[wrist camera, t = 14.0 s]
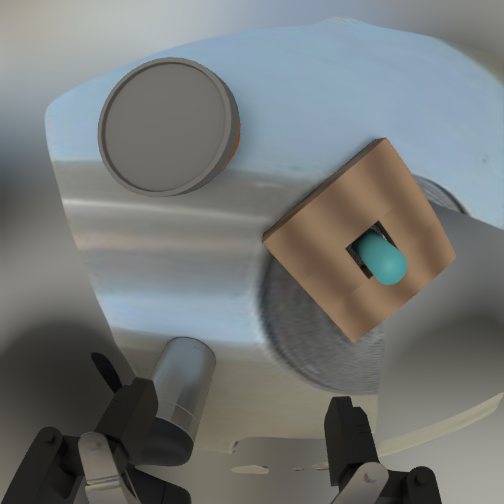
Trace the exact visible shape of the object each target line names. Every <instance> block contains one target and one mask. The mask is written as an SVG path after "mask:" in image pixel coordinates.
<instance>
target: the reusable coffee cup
mask: <svg viewBox="0 0 504 504" xmlns="http://www.w3.org/2000/svg"><path fill="white" fill-rule="evenodd" d="M239 138H240V119H239V112H238V107H237V104H236V101H235V99H234V96H233V94H232V92H231V91H230V89H229V88H228V86H227V85H226V84H225V82H223V81H222V80H221V79H220V78H219V77H218V76H217V75H216V74H214V73H213V72H212V71H210V70H209V69H208V68H206V67H204V66H202V65H201V64H199V63H197V62H195V61H191V60H188V59H184V58H174V57H168V58H161V59H155V60H152V61H149V62H147V63H144V64H142V65H140V66H138V67H137V68H135V69H133V70H132V71H130V72H129V73H128V74H127V75H125V76H124V77H123V78H122V79H121V80H120V81H119V82H118V83H117V85H116V86H115V87H114V88H113V89H112V91H111V93H110V94H109V96H108V97H107V99H106V101H105V103H104V106H103V108H102V111H101V114H100V119H99V124H98V145H99V151H100V154H101V157H102V160H103V163H104V165H105V166H106V168H107V170H108V172H109V173H110V174H111V175H112V177H113V178H114V179H115V180H116V181H117V182H118V183H119V184H121V185H122V186H123V187H125V188H126V189H128V190H130V191H132V192H134V193H136V194H140V195H144V196H149V197H166V196H176V195H181V194H186V193H189V192H191V191H194V190H196V189H199V188H200V187H202V186H204V185H205V184H207V183H208V182H210V181H211V180H212V179H213V178H214V177H215V176H217V175H218V174H219V173H220V172H221V171H222V170H223V169H224V168H225V167H226V165H227V164H228V163H229V161H230V160H231V158H232V157H233V155H234V153H235V151H236V149H237V146H238V142H239Z"/></svg>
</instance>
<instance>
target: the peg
mask: <svg viewBox="0 0 504 504" xmlns="http://www.w3.org/2000/svg"><path fill="white" fill-rule="evenodd" d="M351 245H352V248H353V250H354V251H355V252H356V253H357V255H358V256H359V257H360V258H361V260H362V261H363V262H364V263H365V265H366V266H367V267H368V268H369V270H370V271H371V272H372V274H373V275H374V276H375V277H376V279H377V280H378V281H379V282H380V283H381V284H384V285H393V284H395V283H397V282H399V281H400V280H401V279H402V278H403V277H404V275H405V273H406V270H407V260H406V257H405V256H404V255H403V254H402V253H401V252H400V251H399V250H398V249H396V248H395V247H394V246H393V245H392V244H390V243H389V242H388V241H386V240H385V239H384V238H383V237H382V236H380V235H379V234H378V233H377V232H375V231H374V230H373V229H371V228H369V229H368V230H366V231H365V232H364V233H363V234H362V235H360V236H359V237H358V238H357V239H356V240H355V241H353V242H352V243H351Z"/></svg>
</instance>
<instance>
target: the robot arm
mask: <svg viewBox="0 0 504 504" xmlns="http://www.w3.org/2000/svg"><path fill="white" fill-rule="evenodd" d="M215 364H216V362H215V357H214V354H213V353H212V351H211V350H210V349H209V348H208V347H207V346H206V345H204V344H203V343H201V342H199V341H198V340H195V339H192V338H186V337H180V338H175V339H173V340H171V341H170V342H169V343H168V344H167V345H166V347H165V349H164V351H163V353H162V355H161V356H160V358H159V360H158V362H157V364H156V366H155V368H154V370H153V372H152V374H151V375H150V377H149V379H145V378H141V377H136V378H135V379H134V381H133V382H132V384H131V386H128V385H124V386H123V387H122V388H121V389H119V390H118V391H117V392H116V394H115V396H114V397H113V400H112V401H111V402H110V404H109V407H108V408H107V409H106V411H105V413H104V415H103V417H102V418H101V420H100V422H99V423H98V425H97V427H96V429H95V430H94V431H93V432H90V433H86V434H84V435H83V436H82V437H72V436H65V435H62V434H61V432H60V431H59V430H58V429H56V428H54V427H45V428H43V429H41V430H40V431H39V433H38V434H37V436H36V438H35V439H34V441H33V443H32V444H31V446H30V448H29V450H28V452H27V453H26V455H25V457H24V459H23V461H22V463H21V464H20V466H19V468H18V470H17V472H16V474H15V476H14V478H13V480H12V482H11V484H10V486H9V488H8V490H7V492H6V494H5V496H4V498H3V500H2V503H1V504H73V502H74V499H75V496H76V494H77V491H78V489H79V486H80V484H81V481H82V479H83V476H85V477H86V480H87V485H86V486H85V490H86V494H87V498H88V504H191V497H190V494H189V493H188V491H187V490H185V489H183V488H182V487H179V486H177V485H174V484H171V483H169V482H166V481H163V480H161V479H159V478H156V477H154V476H152V475H149V474H147V473H144V472H142V471H140V470H137V469H136V468H135V466H139V465H159V466H179V465H182V464H185V463H186V462H187V461H188V460H189V459H190V456H191V453H192V450H193V446H194V442H195V438H196V435H197V431H198V427H199V423H200V420H201V416H202V412H203V408H204V405H205V401H206V397H207V394H208V390H209V386H210V383H211V379H212V376H213V372H214V368H215ZM324 430H325V438H326V446H327V453H328V463H329V472H330V481H331V486H339V493H338V494H337V496H336V497H335V498H334V500H333V501H332V502H331V503H330V504H442V502H441V498H440V494H439V489H438V486H437V482H436V478H435V474H434V473H433V471H432V470H431V469H429V468H427V467H424V466H420V467H416V468H414V469H412V470H411V471H410V472H400V471H391V470H388V469H386V467H385V466H383V465H382V464H380V462H379V460H378V456H377V452H376V448H375V444H374V440H373V437H372V433H371V429H370V426H369V422H368V418H367V415H366V413H365V412H364V411H363V410H362V409H361V407H353V405H352V401H351V398H350V397H349V396H342V397H333V398H332V399H331V402H330V405H329V408H328V411H327V413H326V416H325V421H324Z"/></svg>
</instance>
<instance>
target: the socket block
mask: <svg viewBox="0 0 504 504" xmlns="http://www.w3.org/2000/svg"><path fill="white" fill-rule="evenodd" d="M375 223H376V225H377V226H378V227H379V229H380V230H381V232H382V233H383V235H384V236H385V238H386V239H387V241H388V242H389V243H390V244H392V245H393V246H394V247H395V248H396V249H398V250H399V251H400V252H401V253H402V254H403V255H404V256H405V257H406V260H407V270H406V273H405V275H404V277H403V278H402V279H401V280H400V281H399V282H397V283H395V284H393V285H384V284H381V283H380V282H379V281H378V280H377V279H376V277H375V276H374V275H373V274H372V272H371V271H370V270H369V268H368V267H367V266H366V265H365V264H364V265H363V266H362V267H361V268H360V267H359V266H358V265H357V263H356V262H355V261H354V259H353V258H352V257H351V255H350V254H349V253H348V252H347V250H346V249H345V248H346V247H347V246H348V245H350V244H351V243H352V242H353V241H355V240H356V239H357V238H358V237H359V236H360V235H362V234H363V233H364V232H365V231H366V230H368V229H369V228H370V227H371V226H372V225H373V224H375ZM262 244H263V245H264V246H265V247H266V248H267V249H268V250H269V251H270V252H271V253H272V254H273V255H274V256H275V258H276V259H277V260H278V261H279V262H280V263H281V264H282V265H283V266H284V267H285V268H286V269H287V271H288V272H289V273H290V274H291V275H292V276H293V277H294V278H295V279H296V280H297V281H298V283H299V284H300V285H301V286H302V287H303V288H304V289H305V290H306V291H307V292H308V293H309V295H310V296H311V297H312V298H313V299H314V300H315V301H316V302H317V303H318V304H319V306H320V307H321V308H322V309H323V310H324V311H325V312H326V313H327V314H328V315H329V317H330V318H331V319H332V320H333V321H334V322H335V323H336V324H337V325H338V327H339V328H340V329H341V330H342V331H343V332H344V333H345V334H346V335H347V337H348V338H349V339H350V340H351V341H352V342H354V341H356V340H357V339H359V338H360V337H362V336H363V335H364V334H366V333H367V332H369V331H370V330H371V329H373V328H374V327H375V326H377V325H378V324H379V323H381V322H382V321H383V320H385V319H386V318H387V317H388V316H390V315H391V314H392V313H394V312H395V311H396V310H397V309H399V308H400V307H401V306H402V305H404V304H405V303H406V302H407V301H408V300H410V299H411V298H412V297H413V296H414V295H416V294H417V293H418V292H419V291H420V290H421V289H423V288H424V287H425V286H426V285H427V284H428V283H429V282H430V281H431V280H433V279H434V278H435V277H436V276H437V275H438V274H439V273H440V272H441V271H442V270H444V269H445V268H446V267H447V266H448V265H449V264H450V263H451V262H452V261H453V260H454V259H455V258H456V255H455V253H454V250H453V248H452V246H451V244H450V242H449V240H448V238H447V236H446V234H445V232H444V230H443V228H442V226H441V224H440V222H439V220H438V218H437V216H436V214H435V213H434V211H433V209H432V207H431V205H430V204H429V202H428V200H427V198H426V197H425V195H424V193H423V192H422V190H421V188H420V187H419V185H418V183H417V182H416V180H415V179H414V177H413V175H412V174H411V172H410V171H409V169H408V168H407V166H406V165H405V163H404V162H403V160H402V159H401V157H400V156H399V154H398V153H397V152H396V150H395V149H394V147H393V146H392V145H391V143H390V142H389V140H388V139H387V138H380V139H375V140H374V141H372V142H371V143H370V144H369V145H368V146H366V147H365V148H364V149H363V150H362V151H361V152H359V153H358V154H357V155H356V156H355V157H353V158H352V159H351V160H350V161H349V162H348V163H346V164H345V165H344V166H343V167H342V168H340V169H339V170H338V171H337V172H336V173H335V174H333V175H332V176H331V177H330V178H329V179H327V180H326V181H325V182H324V183H323V184H322V185H320V186H319V187H318V188H317V189H316V190H314V191H313V192H312V193H311V194H310V195H309V196H307V197H306V198H305V199H304V200H303V201H302V202H300V203H299V204H298V205H297V206H296V207H294V208H293V209H292V210H291V211H290V212H289V213H287V214H286V215H285V216H284V217H283V218H282V219H280V220H279V221H278V222H277V223H276V224H275V225H273V226H272V227H271V228H270V229H269V230H268V231H266V232H265V233H264V234H263V240H262Z"/></svg>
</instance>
